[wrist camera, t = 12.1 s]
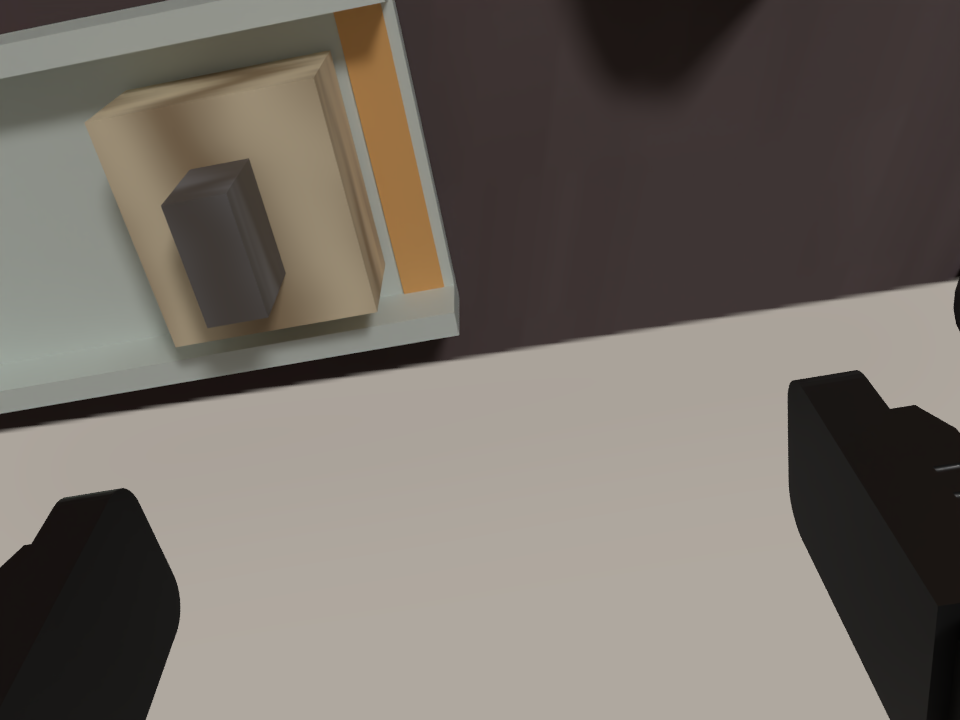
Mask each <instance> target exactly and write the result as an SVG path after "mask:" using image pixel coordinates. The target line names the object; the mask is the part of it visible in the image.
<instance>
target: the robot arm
mask: <svg viewBox="0 0 960 720" xmlns="http://www.w3.org/2000/svg"><path fill="white" fill-rule="evenodd" d="M954 314H955V320H956V324H957V327H958V329H959V331H960V278H959V281H958V284H957V287H956V290H955V298H954ZM788 456H789V457H788V458H789V459H788V460H789V461H788V462H789V493H790V500H791V505H792V510H793V514H794V518H795V521H796V525H797V528H798V531H799V533H800V536H801V538H802V540H803V542H804V544H805V546H806V548H807V550H808V553H809V555H810V556H811V559H812V561H813V563H814V565H815V567H816V569H817V571H818V573H819V575H820V577H821V579H822V581H823V583H824V585H825V587H826V589H827V591H828V593H829V596H830V598H831V600H832V602H833V604H834V606H835V608H836V610H837V612H838V614H839V616H840V618H841V620H842V622H843V624H844V626H845V628H846V630H847V632H848V634H849V636H850V638H851V641H852V643H853V645H854V646H855V649H856V651H857V653H858V655H859V657H860V659H861V661H862V663H863V665H864V667H865V669H866V671H867V673H868V675H869V677H870V679H871V681H872V684H873V685H874V687H875V690H876V692H877V694H878V696H879V698H880V700H881V702H882V704H883V706H884V708H885V710H886V712H887V714H888V716H889V718H890V720H960V433H959V432H958V430H957V429H956V428H954V427H953V426H951V425H949V424H947V423H946V422H944V421H942V420H940V419H939V418H937V417H935V416H933V415H931V414H930V413H928V412H926V411H924V410H923V409H921V408H919V407H918V406H916V405H912V406H906V407H900V408H893V409H889V407H888V406H887V405H886V403H885V402H884V401H883V400H882V398H881V397H880V395H879V394H878V393H877V391H876V390H875V389H874V387H873V386H872V385H871V383H870V382H869V381H868V379H867V378H866V377H865V376H864V374H862V373H861V372H860V371H858V370H855V371H849V372H843V373H837V374H831V375H825V376H818V377H812V378H806V379H800V380H794V381H792V382H791V383H790V385H789V389H788ZM179 618H180V597H179V591H178V586H177V583H176V580H175V577H174V575H173V573H172V571H171V568H170V567H169V564H168V562H167V560H166V558H165V556H164V554H163V552H162V550H161V548H160V546H159V544H158V542H157V539H156V537H155V535H154V533H153V531H152V529H151V527H150V525H149V523H148V521H147V518H146V516H145V514H144V512H143V510H142V508H141V506H140V504H139V502H138V500H137V498H136V497H135V496H134V494H133V493H131V492H130V491H129V490H127V489H124V488H122V489H114V490H109V491H102V492H96V493H90V494H85V495H78V496H72V497H66V498H63V499H61V500H59V501H58V502H57V503H56V505H55V506H54V507H53V509H52V511H51V512H50V514H49V516H48V518H47V519H46V521H45V523H44V524H43V526H42V527H41V529H40V531H39V532H38V534H37V536H36V537H35V539H34V541H33V542H32V544H29V545H24V546H23V547H22V548H21V549H20V550H19V551H17V552H16V553H15V554H14V555H13V556H12V557H11V558H10V559H9V560H8V561H7V562H6V563H5V564H4V565H2V566H1V567H0V720H146V717H147V714H148V711H149V709H150V706H151V703H152V700H153V697H154V694H155V692H156V689H157V686H158V683H159V680H160V678H161V675H162V672H163V669H164V666H165V663H166V660H167V658H168V655H169V652H170V649H171V646H172V643H173V641H174V638H175V635H176V632H177V629H178V625H179Z"/></svg>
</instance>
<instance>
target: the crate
mask: <svg viewBox="0 0 960 720" xmlns="http://www.w3.org/2000/svg"><path fill="white" fill-rule="evenodd" d="M84 123H85V126H86V128H87V131H88V133H89V136H90V138H91V140H92V143H93V145H94V148H95V150H96V153H97V155H98V158H99V160H100V163H101V165H102V167H103V170H104V172H105V175H106V177H107V180H108V182H109V185H110V187H111V190H112V192H113V194H114V197H115V199H116V202H117V204H118V207H119V209H120V212H121V214H122V217H123V219H124V221H125V224H126V226H127V229H128V231H129V234H130V236H131V239H132V241H133V244H134V246H135V248H136V251H137V253H138V256H139V258H140V261H141V263H142V266H143V268H144V271H145V273H146V276H147V278H148V280H149V283H150V285H151V288H152V290H153V293H154V295H155V298H156V300H157V303H158V305H159V307H160V310H161V312H162V315H163V317H164V320H165V322H166V325H167V327H168V330H169V332H170V334H171V337H172V339H173V342H174V344H175V347H181V346H186V345H192V344H198V343H204V342H209V341H215V340H221V339H227V338H232V337H238V336H244V335H249V334H255V333H261V332H267V331H272V330H278V329H284V328H290V327H295V326H301V325H307V324H313V323H318V322H324V321H330V320H335V319H341V318H347V317H353V316H358V315H364V314H370V313H376V312H377V311H378V305H379V299H380V293H381V287H382V281H383V275H384V269H385V261H384V257H383V253H382V249H381V245H380V242H379V238H378V234H377V230H376V226H375V222H374V218H373V214H372V211H371V207H370V203H369V199H368V195H367V191H366V187H365V183H364V180H363V176H362V172H361V168H360V164H359V160H358V156H357V152H356V149H355V145H354V141H353V137H352V133H351V129H350V125H349V121H348V118H347V114H346V110H345V106H344V102H343V98H342V94H341V90H340V87H339V83H338V79H337V75H336V71H335V67H334V63H333V59H332V56H331V52H330V50H329V51H324V52H318V53H313V54H308V55H303V56H298V57H293V58H288V59H283V60H278V61H273V62H268V63H263V64H257V65H252V66H247V67H242V68H237V69H232V70H227V71H222V72H217V73H212V74H207V75H202V76H197V77H191V78H186V79H181V80H176V81H171V82H166V83H161V84H156V85H151V86H146V87H141V88H136V89H131V90H126V91H125V92H123V93H122V94H121V95H119V96H118V97H117V98H115V99H114V100H113V101H112V102H110V103H109V104H108V105H106V106H105V107H104V108H102V109H101V110H100V111H99V112H97V113H96V114H95V115H93V116H92V117H91V118H89V119H88V120H87V121H86V122H84Z"/></svg>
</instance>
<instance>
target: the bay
mask: <svg viewBox="0 0 960 720" xmlns="http://www.w3.org/2000/svg"><path fill="white" fill-rule="evenodd" d="M329 50H330V52H331V56H332V59H333V63H334V67H335V71H336V75H337V79H338V83H339V87H340V90H341V94H342V98H343V102H344V106H345V110H346V114H347V118H348V121H349V125H350V129H351V133H352V137H353V141H354V145H355V149H356V152H357V156H358V160H359V164H360V168H361V172H362V176H363V180H364V183H365V187H366V191H367V195H368V199H369V203H370V207H371V211H372V214H373V218H374V222H375V226H376V230H377V234H378V238H379V242H380V245H381V249H382V253H383V257H384V261H385V269H384V275H383V281H382V287H381V293H380V299H379V305H378V311H377V312H376V313H370V314H364V315H358V316H353V317H347V318H341V319H335V320H330V321H324V322H318V323H313V324H307V325H301V326H295V327H290V328H284V329H278V330H272V331H267V332H261V333H255V334H249V335H244V336H238V337H232V338H227V339H221V340H215V341H209V342H204V343H198V344H192V345H186V346H181V347H175V344H174V342H173V339H172V337H171V334H170V332H169V330H168V327H167V325H166V322H165V320H164V317H163V315H162V312H161V310H160V307H159V305H158V303H157V300H156V298H155V295H154V293H153V290H152V288H151V285H150V283H149V280H148V278H147V276H146V273H145V271H144V268H143V266H142V263H141V261H140V258H139V256H138V253H137V251H136V248H135V246H134V244H133V241H132V239H131V236H130V234H129V231H128V229H127V226H126V224H125V221H124V219H123V217H122V214H121V212H120V209H119V207H118V204H117V202H116V199H115V197H114V194H113V192H112V190H111V187H110V185H109V182H108V180H107V177H106V175H105V172H104V170H103V167H102V165H101V163H100V160H99V158H98V155H97V153H96V150H95V148H94V145H93V143H92V140H91V138H90V136H89V133H88V131H87V128H86V126H85V123H84V122H86V121H87V120H88V119H89V118H91V117H92V116H93V115H95V114H96V113H97V112H99V111H100V110H101V109H102V108H104V107H105V106H106V105H108V104H109V103H110V102H112V101H113V100H114V99H115V98H117V97H118V96H119V95H121V94H122V93H123V92H125V91H126V90H131V89H136V88H141V87H146V86H151V85H156V84H161V83H166V82H171V81H176V80H181V79H186V78H191V77H197V76H202V75H207V74H212V73H217V72H222V71H227V70H232V69H237V68H242V67H247V66H252V65H257V64H263V63H268V62H273V61H278V60H283V59H288V58H293V57H298V56H303V55H308V54H313V53H318V52H324V51H329ZM457 335H459V294H458V290H457V285H456V280H455V276H454V271H453V267H452V262H451V257H450V253H449V248H448V244H447V239H446V234H445V230H444V225H443V221H442V216H441V211H440V207H439V202H438V198H437V193H436V188H435V184H434V179H433V175H432V170H431V165H430V161H429V156H428V152H427V147H426V142H425V138H424V133H423V129H422V124H421V119H420V115H419V110H418V106H417V101H416V96H415V92H414V87H413V83H412V78H411V73H410V69H409V64H408V60H407V55H406V50H405V46H404V41H403V37H402V32H401V27H400V23H399V18H398V14H397V9H396V4H395V0H168V1H163V2H158V3H153V4H148V5H143V6H138V7H133V8H128V9H124V10H119V11H114V12H109V13H104V14H99V15H94V16H89V17H84V18H79V19H74V20H70V21H65V22H60V23H55V24H50V25H45V26H40V27H35V28H30V29H25V30H21V31H16V32H11V33H6V34H1V35H0V414H2V413H8V412H14V411H19V410H25V409H31V408H37V407H43V406H49V405H54V404H60V403H66V402H72V401H78V400H84V399H90V398H95V397H101V396H107V395H113V394H119V393H125V392H130V391H136V390H142V389H148V388H154V387H160V386H165V385H171V384H177V383H183V382H189V381H195V380H200V379H206V378H212V377H218V376H224V375H230V374H235V373H241V372H247V371H253V370H259V369H265V368H270V367H276V366H282V365H288V364H294V363H300V362H305V361H311V360H317V359H323V358H329V357H335V356H340V355H346V354H352V353H358V352H364V351H370V350H375V349H381V348H387V347H393V346H399V345H405V344H410V343H416V342H422V341H428V340H434V339H440V338H445V337H451V336H457Z"/></svg>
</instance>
